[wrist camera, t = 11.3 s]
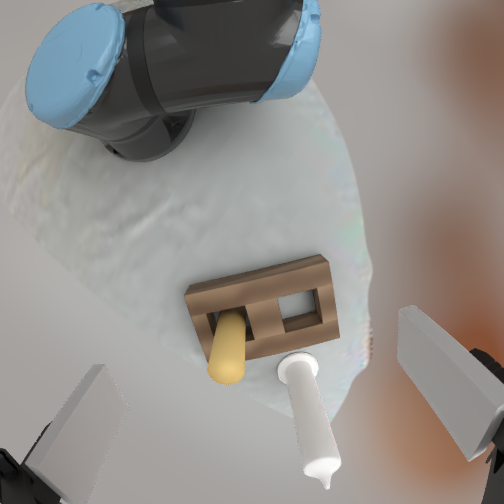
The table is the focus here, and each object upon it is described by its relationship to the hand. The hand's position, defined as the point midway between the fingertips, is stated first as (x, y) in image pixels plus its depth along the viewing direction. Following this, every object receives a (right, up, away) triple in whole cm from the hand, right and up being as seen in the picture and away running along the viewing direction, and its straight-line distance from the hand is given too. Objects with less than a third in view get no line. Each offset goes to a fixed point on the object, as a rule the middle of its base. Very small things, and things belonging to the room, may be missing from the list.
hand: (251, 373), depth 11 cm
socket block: (+2, -3, +32) cm, 32 cm away
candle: (+8, -15, +35) cm, 39 cm away
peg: (-3, -5, +32) cm, 33 cm away
